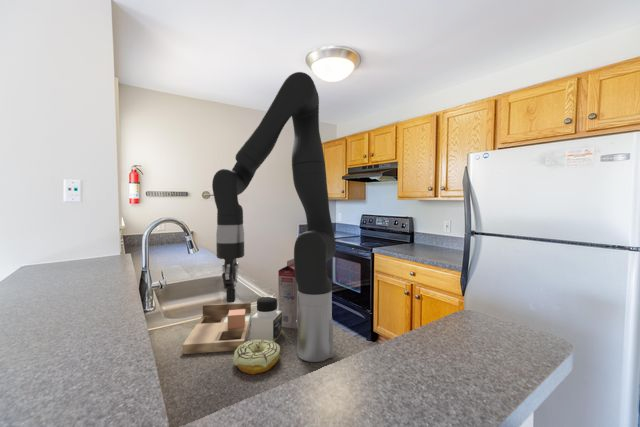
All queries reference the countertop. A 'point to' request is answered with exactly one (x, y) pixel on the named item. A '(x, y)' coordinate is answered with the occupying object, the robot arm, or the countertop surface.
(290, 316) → the juice carton
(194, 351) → the board
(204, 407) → the countertop surface
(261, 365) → the decorated donut
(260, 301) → the medicine bottle
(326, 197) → the robot arm
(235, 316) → the block
